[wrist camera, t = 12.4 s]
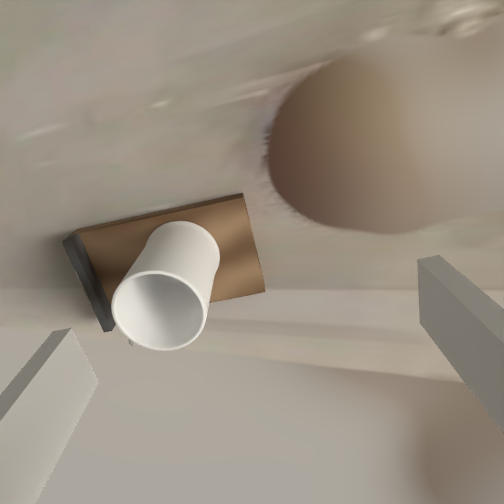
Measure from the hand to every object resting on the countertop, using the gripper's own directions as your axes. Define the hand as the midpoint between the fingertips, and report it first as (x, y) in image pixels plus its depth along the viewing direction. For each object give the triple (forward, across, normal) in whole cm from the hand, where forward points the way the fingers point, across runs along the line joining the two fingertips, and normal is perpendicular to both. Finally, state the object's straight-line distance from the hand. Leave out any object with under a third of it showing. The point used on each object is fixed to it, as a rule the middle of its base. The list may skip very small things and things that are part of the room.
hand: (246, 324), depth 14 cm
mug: (+27, -11, -8) cm, 30 cm away
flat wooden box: (+29, -11, -8) cm, 32 cm away
